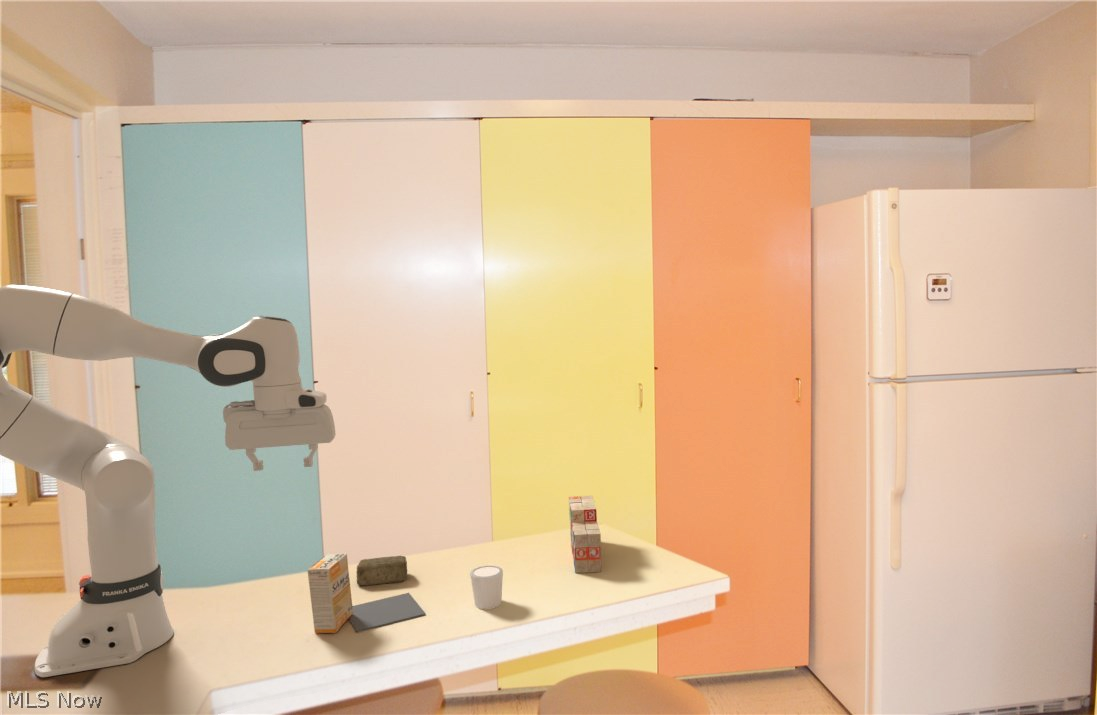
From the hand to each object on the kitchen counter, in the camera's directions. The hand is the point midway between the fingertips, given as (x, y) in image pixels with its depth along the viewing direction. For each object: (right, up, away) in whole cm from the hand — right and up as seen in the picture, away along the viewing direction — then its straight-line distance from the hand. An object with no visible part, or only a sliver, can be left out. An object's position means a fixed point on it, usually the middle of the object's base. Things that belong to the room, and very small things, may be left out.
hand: (283, 468), depth 138 cm
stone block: (+14, -30, +25) cm, 41 cm away
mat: (+18, -31, +8) cm, 37 cm away
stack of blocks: (+61, -27, +34) cm, 75 cm away
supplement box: (+9, -32, +3) cm, 33 cm away
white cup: (+39, -30, +10) cm, 51 cm away
